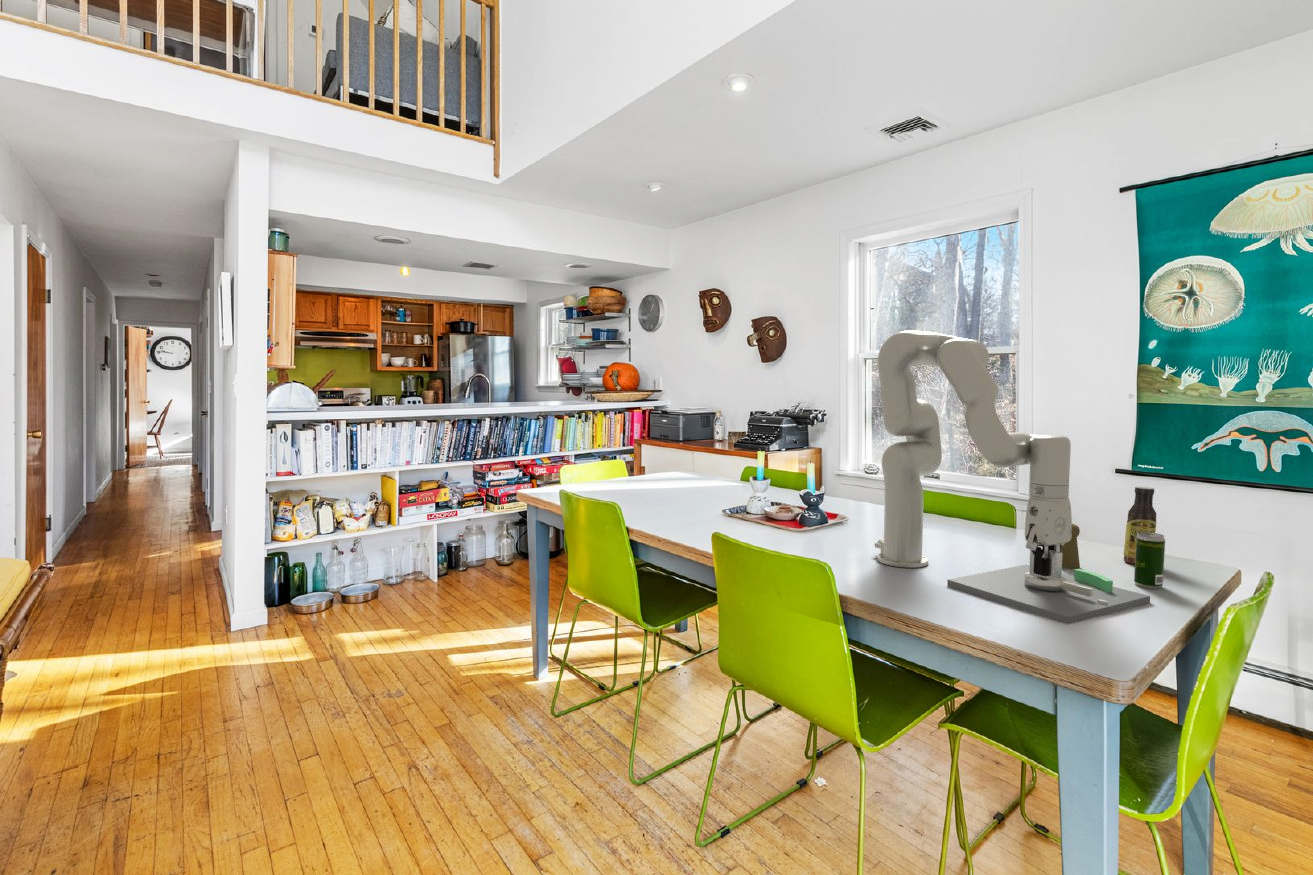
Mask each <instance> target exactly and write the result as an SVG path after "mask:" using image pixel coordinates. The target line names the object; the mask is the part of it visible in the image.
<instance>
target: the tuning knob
mask: <svg viewBox="0 0 1313 875" xmlns="http://www.w3.org/2000/svg"><path fill="white" fill-rule="evenodd" d="M1041 549H1042V547H1041ZM1029 551H1030V552H1029V565H1030V569H1029V572H1027V573H1025V574H1024V584H1025V585H1026V586H1028V587H1031V588H1034V589H1039V590H1045V591H1063V590H1066V591H1070V592H1074V593H1077V594H1081V595H1085V596H1088V597H1091V596H1093V589H1092V588H1088V587H1085V586H1081V585H1077V584H1073V583H1069V582H1066V578H1065V577H1063V576H1061V574H1063V573H1062V571H1063V568H1062V552H1057V551H1053V550H1048V557H1047V558H1049V559H1050V560H1049V576H1046V577H1045V576H1042V575H1038V574H1034V572H1033V570H1034V556H1033V555H1032V551H1031V550H1030V549H1029Z"/></svg>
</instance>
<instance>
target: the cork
mask: <svg viewBox="0 0 1313 875" xmlns="http://www.w3.org/2000/svg"><path fill="white" fill-rule="evenodd" d="M1080 531H1081V530H1080V527H1079V525H1077V524H1074V523H1072V537H1071V540H1070V541H1069V542H1067V543H1065V544H1064V545H1063V546H1062V547H1061V549H1060V552H1062V569H1065V570H1075V569H1081V566H1080V564H1081V563H1080V554H1079V553H1080V552H1079V547H1078V544H1079V543H1078V537H1079V535H1080Z"/></svg>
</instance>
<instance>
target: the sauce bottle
mask: <svg viewBox="0 0 1313 875" xmlns="http://www.w3.org/2000/svg"><path fill="white" fill-rule="evenodd" d="M1134 493H1135V494H1134V495H1135V496H1134V502H1133V503H1134V504H1133V505H1132V506H1131V508H1130V509H1129V510H1128V511H1127V520H1126V527H1125V534H1124V535H1125V536H1124V544H1123V561H1124V562H1125V563H1128V564H1131V565H1135V554H1136V537H1137V535H1138V533H1139V532H1150V533H1157V531H1156V530H1157V512H1156V510H1155V509H1154V506H1153V505H1154V503H1153V500H1154V494H1155V488H1153V487H1149V486H1135V487H1134Z"/></svg>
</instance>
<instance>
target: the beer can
mask: <svg viewBox="0 0 1313 875" xmlns="http://www.w3.org/2000/svg"><path fill="white" fill-rule="evenodd" d="M1165 549H1166V539H1165V535H1164V534H1162V533H1158V532H1155V533H1150V532H1139V533H1138V535H1137V537H1136V554H1135V564H1134V575H1133V576H1134V577H1133V582H1134V584H1135V585H1136V586H1137V587H1141V588H1146V589H1151V590H1159V589H1161V588H1162V587H1163V585H1164V571H1165V570H1164V568H1165V552H1166V550H1165Z"/></svg>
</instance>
